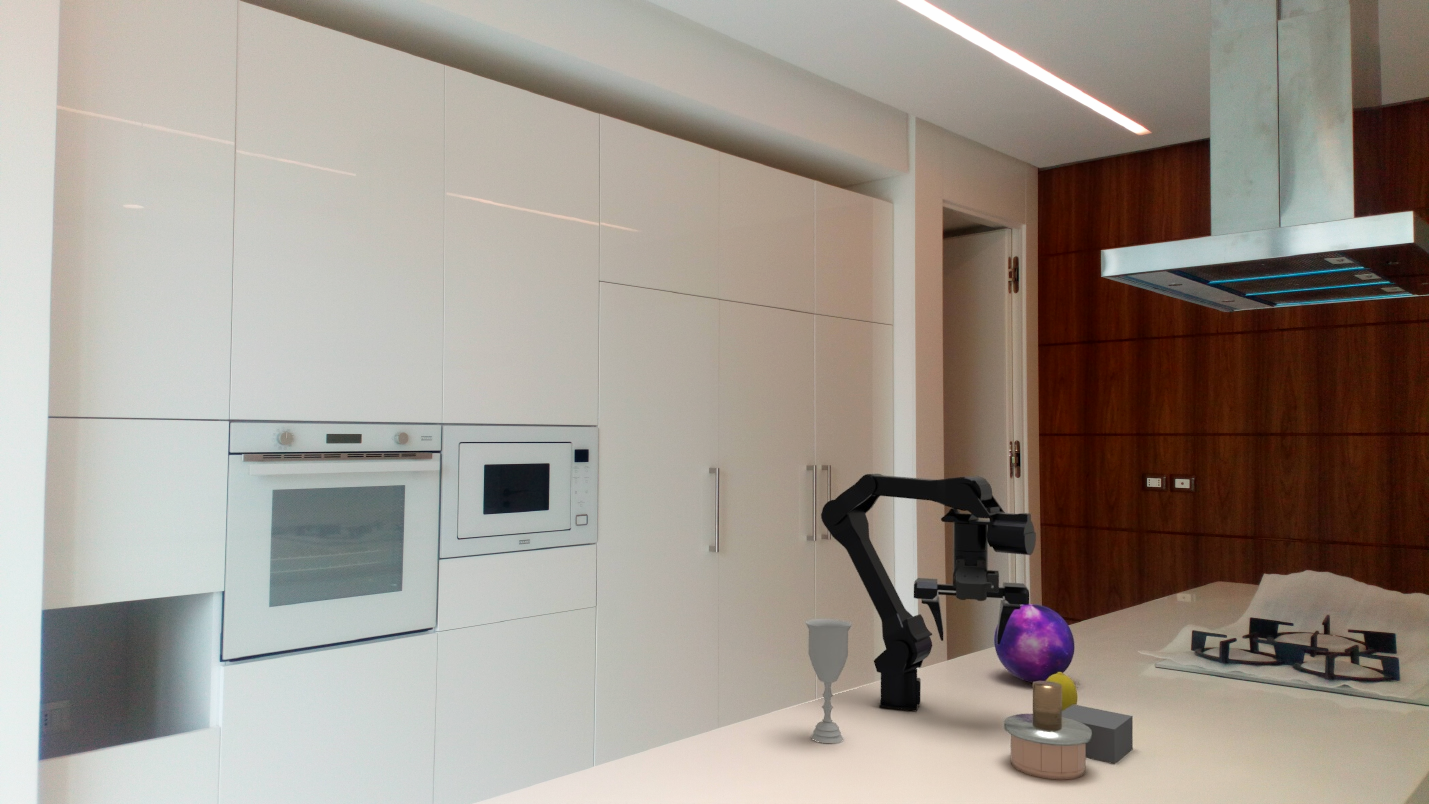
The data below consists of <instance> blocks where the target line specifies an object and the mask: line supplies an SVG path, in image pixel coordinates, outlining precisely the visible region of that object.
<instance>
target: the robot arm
mask: <svg viewBox="0 0 1429 804" xmlns="http://www.w3.org/2000/svg"><path fill="white" fill-rule="evenodd" d="M992 489H993V488H992V486H991V484H990V482H989V481H988V480H987V479H986V478H985V477H983V476H979V475H975V476H974V475H973V476H960V477H950V478H941V479H931V478H921V477H920V478H919V477H910V476H909V477H908V476H907V477H906V476H893V475H883V474H881V473H867V474H864V475H862V476H861V477H860V478H859V479H858V480H857V481H856V482H855V483H854V484H853V485H851V486H849V488H847V489H846V490H844V491H843V492H842V493H839V495H838V496H837V497H836V498H835V499H831V500H829V501H827V502H826V503H825V504H824V505H823V507H822V509H821V510H822V511H821V513H820V518H821V522H822V523H823V526H824V527H825V528H826V530H827V531H828V532H829V534H830V535H831V536H832V538H834V539H833V540H836V542H838V543H839V544H840V545H841V547H843V548H844V549H845V550H846V552H847V553H848V556H849V558H850V560H851V562H852V565H853V566H854V568H855V570H856V572H857V574H858V576H859V577H860V580H861V581H862V584H863V586H864V588H865V590H866V592H867V594H868V596H869V598H870V600H871V601H872V602H871V603H872V604H873V606H874V608H875V610H876V611H877V614H878V615H879V618H880V620H881V631H882V632H881V633H882V641H883V643H884V646H885V649H884V650H883V651H882V652H881V653H880V654H879V655H878V656H877V657H876V658H875V659H874V660H873V664H874V666H875V670H876V672H877V673H880V700H879V703H878V706H879V708H882V709H892V710H893V709H894V710H902V711H903V710H904V711H914V712H915V711H916V712H917V710H918V706H920V705H921V692H922V691H921V687H922V686H921V683H922V682H921V680H922V679H921V678H920V677H918V669H919V668H921V667H922V665H923V664H924V663H923V662H924V660H925V659H927V658H928V657H929V656H930V655H931V652H932V648H933V641H932V639H931V636H933V633H932V632H931V631H930V630H929V629H928V627H927V626H926V623H925V620H924V617H923V616H922V614H920V613H919V614H917V615H914V616H913V615H912V614H911V612H909V611H908V610H907V609H906V607H905V606H904V604H903V601H902V599H901V598H900V596H899V594H898V592H897V591H896V588H895V587H894V584H893V582H892V581H891V578H890V576H889V574H888V572H887V570H886V568H885V566H884V564H883V563H882V561H881V559H880V557H879V555H878V553H877V551H876V549H875V547H874V545H873V543H872V542H871V539H870V538H871V537H870V528H869V521H868V518H867V513H868V512H869V511H870V510H871V509H872V508H873V507H874V505H875V504H876V502H877V501H878V500H879V498H880V497H890V498H898V499H899V498H901V499H911V500H920V501H931V502H934V503H938V504H939V505H943V506H945V507H949V508H950V509H949V510H948V512H947V513H946V514H945V515H943V516H942V517H941V518H940V521H941V522H943V523H953V525H952V526H953V527H952V528H953V529H952V534H953V535H952V537H953V541H952V545H953V546H952V584H949V583H946V584H945V583H938V578H928V577H927V578H926V577H925V578H924V577H922V578H921V577H918V578H916V579H915V580H914V583H913V598H914V599H916V600H917V599H918V600H921V604H924V605H927V606H928V608H929V610H930V612H931V614H932V617H933V618H934V622H935V626H936V629H937V633H938V636H939V639H940V641H942V642H944V625H943V617H942V609H941V601H940V596H952V597H953V596H955V597H956V599H958V600H960V601H965V600H975V601H978V602H984V601H986V600H987V598H989V599H990V598H992V599H1000V604H999V612H998V621H997V625H998V628H997V645H1000V642H1001V639H1002V636H1003V633H1004V630H1005V628H1006V625H1007V622H1008V620H1009V618H1010V616H1011V614H1012V613H1013V611H1014V610H1015V609H1021V605H1029V604H1030V589H1029V588H1028V587H1027V586H1026V584H1024V583H1023V582H1022V583H1021V582H1020V583H1019V582H1018V583H1017V582H1002V586H1000V573H999V570H993V569H992V570H990V569H989V568H988V567H989V566H988V565H989V563H988V562H989V557H988V556H989V551H988V550H989V548H993V551H994V552H995V553H999V554H1000V553H1003V554H1013V555H1014V554H1015V555H1023V556H1024V555H1025V556H1031V555H1032V554H1034V550H1035V547H1036V540H1037V539H1036V538H1037V533H1036V532H1035V527H1034V522H1033V521H1032V514H1031V513H1028V512H1022V513H1009V512H1005V510H1004V509H1003V508H1002V507H1001V505H1000V504H999V502H998V501H997V499H996V498H995V497H994V495H993V490H992ZM960 511H963V512H960ZM965 511H966V512H969V513H966V512H965ZM985 519H987V520H985ZM988 519H989V520H988ZM988 547H989V548H988ZM939 595H940V596H939Z"/></svg>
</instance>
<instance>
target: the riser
mask: <svg viewBox="0 0 1429 804" xmlns="http://www.w3.org/2000/svg"><path fill="white" fill-rule="evenodd" d="M1062 717H1064V718H1068V719H1072V720H1075V721H1078V722H1080V723H1083V724H1084V725H1086V726H1088V727H1089V728H1090V729H1091V731H1092V739H1091V740H1090V741H1089V742H1087V743H1085V758H1087V759H1092V760H1096V761H1101V762H1105V763H1110V764H1114V765H1115V764H1116V763H1118V762H1119V761H1120V760H1121V759H1123V758H1124V756H1126V755H1127V754H1128V753H1129V752H1130V751H1132V750H1133V749H1134V747H1133V743H1134V742H1133V741H1134V740H1133V730H1134V729H1133V727H1134V725H1133V722H1134V721H1133V715H1129V714H1123V713H1118V712H1116V711H1115V712H1114V711H1109V710H1105V709H1099V708H1095V707H1088V706H1084V705H1079V704H1077V705H1075V704H1073V705H1071V706H1070V707H1068V708H1066V709H1065V710H1063V711H1062Z"/></svg>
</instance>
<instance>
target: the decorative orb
mask: <svg viewBox="0 0 1429 804" xmlns="http://www.w3.org/2000/svg"><path fill="white" fill-rule="evenodd" d="M997 628H998V624H997V625H996V628H995V631H994V638H993V641H994V642H993V643H994V648H995V652H996V656H997V659H999V661H1000V663H1001V665H1002V666H1003V668H1005V669H1006V670H1007V671H1008V673H1011V674H1012V676H1014V677H1016V678H1018V679H1020V680H1023V681H1026V682H1030V683H1033V682H1035V681H1046V680H1047V679H1048V678H1049V677H1050V676H1051V675H1054V674H1057V673H1058V672H1062V673H1063V674H1064V673H1065V672H1066V671H1067V669H1068V668H1069V667H1070V665H1071V663H1072V662H1073V658H1074V655H1075V638H1074V635H1073V632H1072V629H1071V628H1070V626H1069V624H1068V623H1067V622H1066V620H1065V619H1064V618H1063V617H1062V616H1061V615H1060V614H1059V613H1058V612H1057V611H1055V610H1054V609H1051V608H1049V607H1047V606H1045V605H1040V604H1034V603H1033V604H1032V603H1031V604H1030V603H1029V605H1021V609H1015V610H1014V611H1013V613H1012V614H1011V616H1010V618H1009V620H1008V622H1007V625H1006V628H1005V630H1004V633H1003V636H1002V639H1001V642H1000V645H997Z"/></svg>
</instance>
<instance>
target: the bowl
mask: <svg viewBox="0 0 1429 804" xmlns="http://www.w3.org/2000/svg"><path fill="white" fill-rule="evenodd" d="M1010 757H1011V758H1010V763H1011V765H1012V767H1013V768H1014V769H1016V770H1018V771H1019V772H1021V773H1023V774H1026V775H1029V776H1033V777H1038V778H1042V779H1047V780H1048V779H1049V780H1073V779H1078V778H1081V777H1083V775H1084V774H1085V768H1086V757H1085V743H1084V744H1080V745H1071V746H1059V745H1047V744H1040V743H1035V742H1031V741H1027V740H1023V739H1020V738H1017V737H1015V736H1013V735H1011V734H1010Z"/></svg>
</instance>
